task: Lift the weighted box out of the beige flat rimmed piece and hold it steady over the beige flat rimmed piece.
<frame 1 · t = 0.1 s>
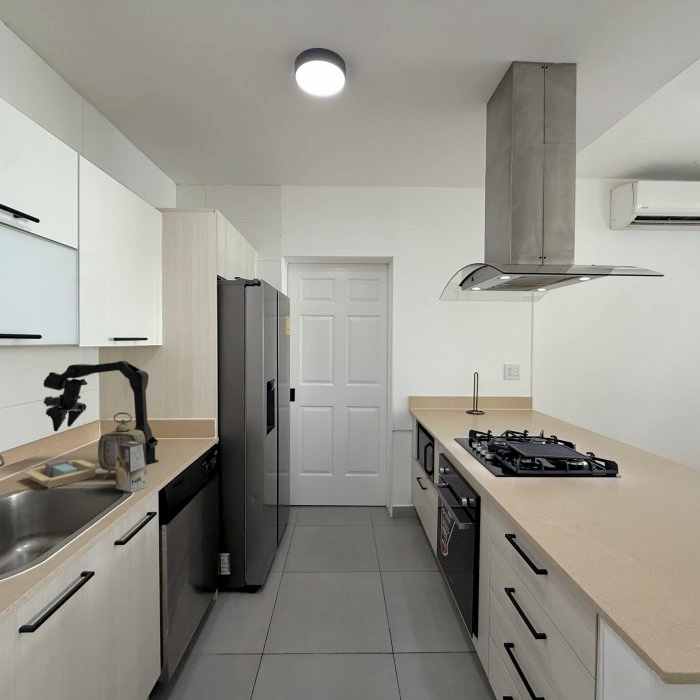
hand: (62, 428, 172), 15 cm above the worktop, tool pointing down, fingers open, 9 cm apart
weighted box: (62, 471, 155), in the beige flat rimmed piece
tabletop clock: (124, 476, 158), on the worktop
coffee box: (131, 488, 145), on the worktop
beige flat rimmed piece: (62, 478, 155), on the worktop
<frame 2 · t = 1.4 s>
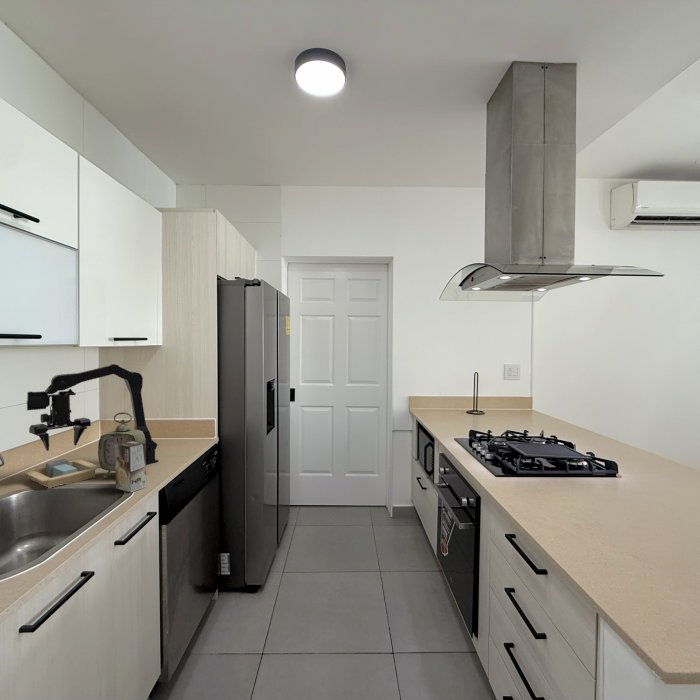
hand: (61, 447, 156), 12 cm above the worktop, tool pointing down, fingers open, 9 cm apart
nothing on the worktop moved.
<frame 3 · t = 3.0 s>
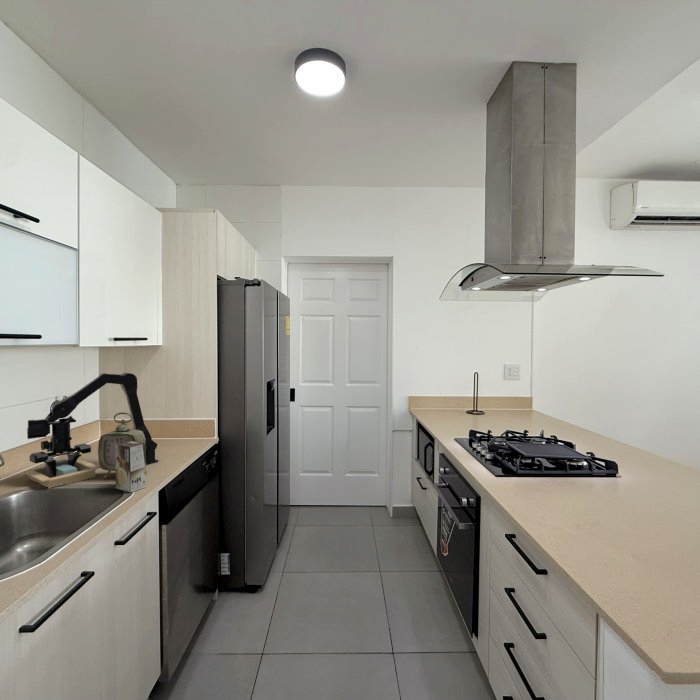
hand: (61, 475, 156), 1 cm above the worktop, tool pointing down, fingers closed on weighted box, 4 cm apart
weighted box: (62, 471, 155), in the beige flat rimmed piece, touching gripper
everything else where it was.
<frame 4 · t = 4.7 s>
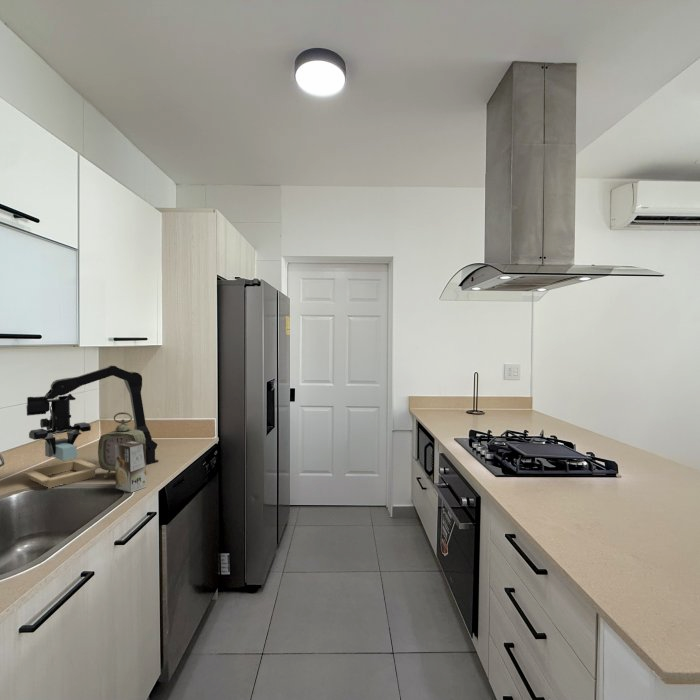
hand: (61, 452, 156), 10 cm above the worktop, tool pointing down, fingers closed on weighted box, 4 cm apart
weighted box: (62, 449, 155), point 11 cm above the worktop, touching gripper
everything else where it was.
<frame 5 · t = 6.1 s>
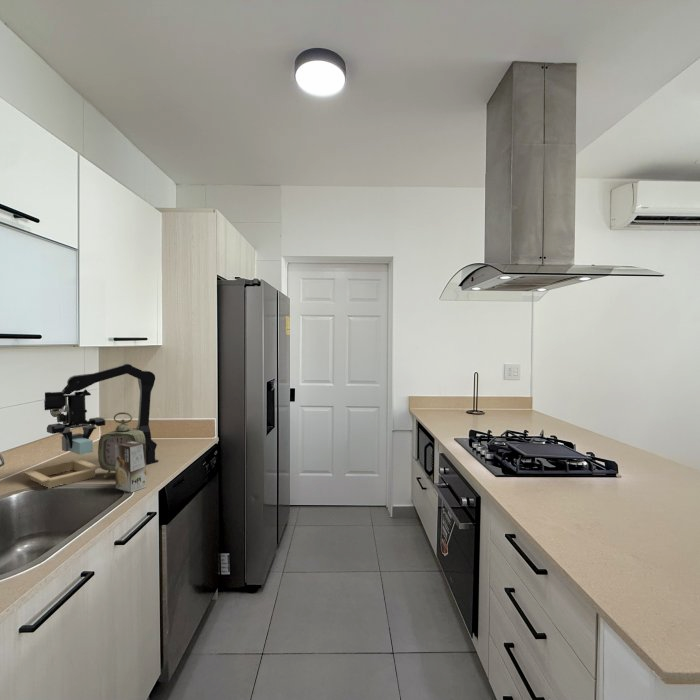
hand: (77, 446, 160), 11 cm above the worktop, tool pointing down, fingers closed on weighted box, 4 cm apart
weighted box: (78, 443, 160), point 12 cm above the worktop, touching gripper
everything else where it was.
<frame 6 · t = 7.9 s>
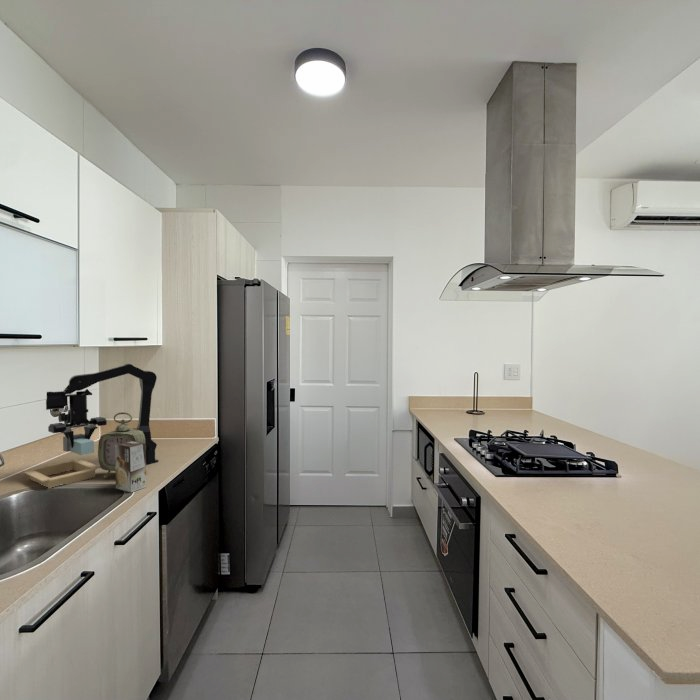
hand: (79, 446, 160), 11 cm above the worktop, tool pointing down, fingers closed on weighted box, 4 cm apart
weighted box: (79, 444, 160), point 12 cm above the worktop, touching gripper
everything else where it was.
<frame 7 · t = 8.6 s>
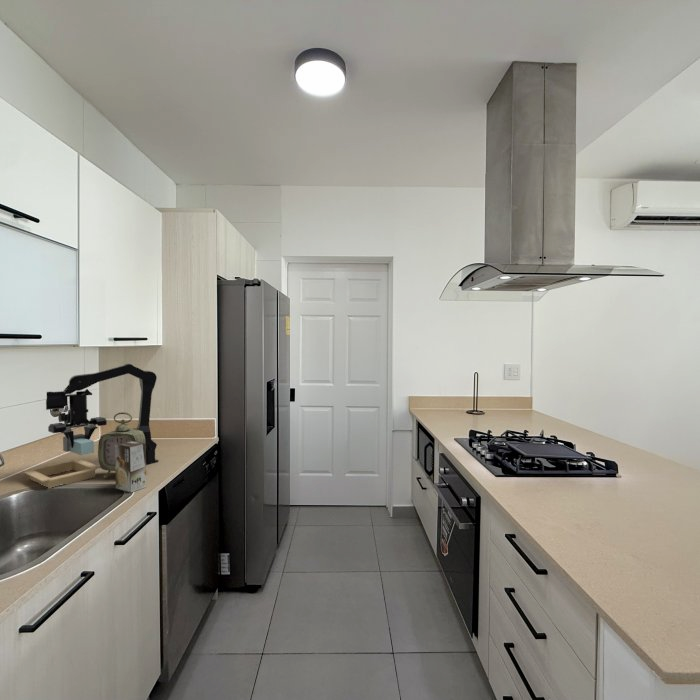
hand: (79, 446, 160), 11 cm above the worktop, tool pointing down, fingers closed on weighted box, 4 cm apart
weighted box: (79, 444, 160), point 12 cm above the worktop, touching gripper
everything else where it was.
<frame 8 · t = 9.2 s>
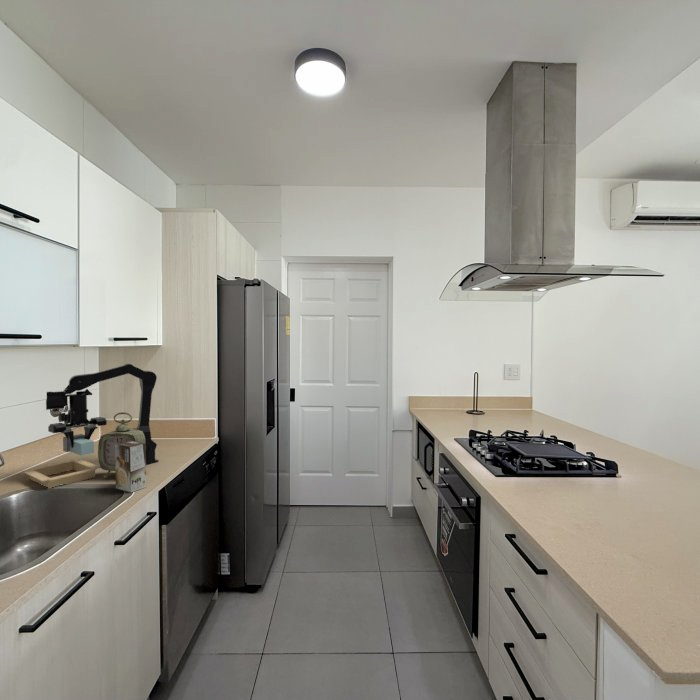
hand: (79, 446, 160), 11 cm above the worktop, tool pointing down, fingers closed on weighted box, 4 cm apart
weighted box: (79, 444, 160), point 12 cm above the worktop, touching gripper
everything else where it was.
at the end: the gripper is holding weighted box; weighted box point 11.6 cm above the worktop; weighted box tilted 0° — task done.
